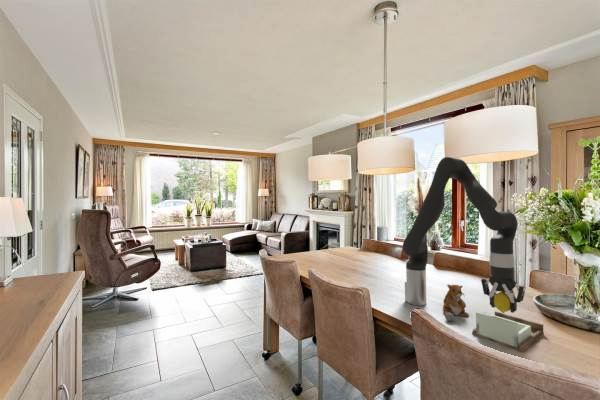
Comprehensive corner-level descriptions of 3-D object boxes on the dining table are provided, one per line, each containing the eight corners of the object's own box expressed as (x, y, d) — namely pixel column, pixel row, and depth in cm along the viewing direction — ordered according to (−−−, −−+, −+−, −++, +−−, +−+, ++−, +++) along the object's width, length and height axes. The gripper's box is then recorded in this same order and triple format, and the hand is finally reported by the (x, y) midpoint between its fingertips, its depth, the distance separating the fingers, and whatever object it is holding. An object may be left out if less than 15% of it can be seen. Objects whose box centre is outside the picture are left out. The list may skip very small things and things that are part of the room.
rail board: (472, 333, 108) (471, 324, 108) (495, 320, 120) (495, 311, 120) (522, 352, 95) (522, 340, 95) (543, 334, 106) (543, 324, 106)
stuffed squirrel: (446, 317, 124) (445, 287, 124) (437, 305, 137) (437, 278, 137) (471, 319, 121) (470, 288, 121) (460, 306, 135) (459, 279, 135)
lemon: (516, 315, 102) (515, 293, 102) (501, 316, 102) (500, 294, 102) (504, 309, 108) (504, 289, 108) (490, 310, 108) (490, 289, 108)
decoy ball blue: (476, 319, 120) (476, 311, 120) (480, 317, 122) (480, 309, 122) (485, 322, 117) (485, 314, 117) (489, 320, 119) (489, 312, 119)
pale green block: (476, 333, 107) (475, 312, 107) (491, 324, 114) (491, 304, 114) (517, 347, 96) (516, 324, 96) (531, 336, 103) (530, 315, 103)
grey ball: (443, 320, 120) (443, 312, 120) (447, 318, 122) (447, 310, 122) (451, 323, 117) (451, 315, 117) (456, 321, 119) (455, 313, 119)
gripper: (529, 266, 101) (530, 313, 101) (485, 260, 113) (486, 301, 113) (521, 269, 97) (522, 318, 97) (476, 262, 109) (477, 306, 109)
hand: (502, 309), depth 105 cm, fingers closed on lemon, 5 cm apart
